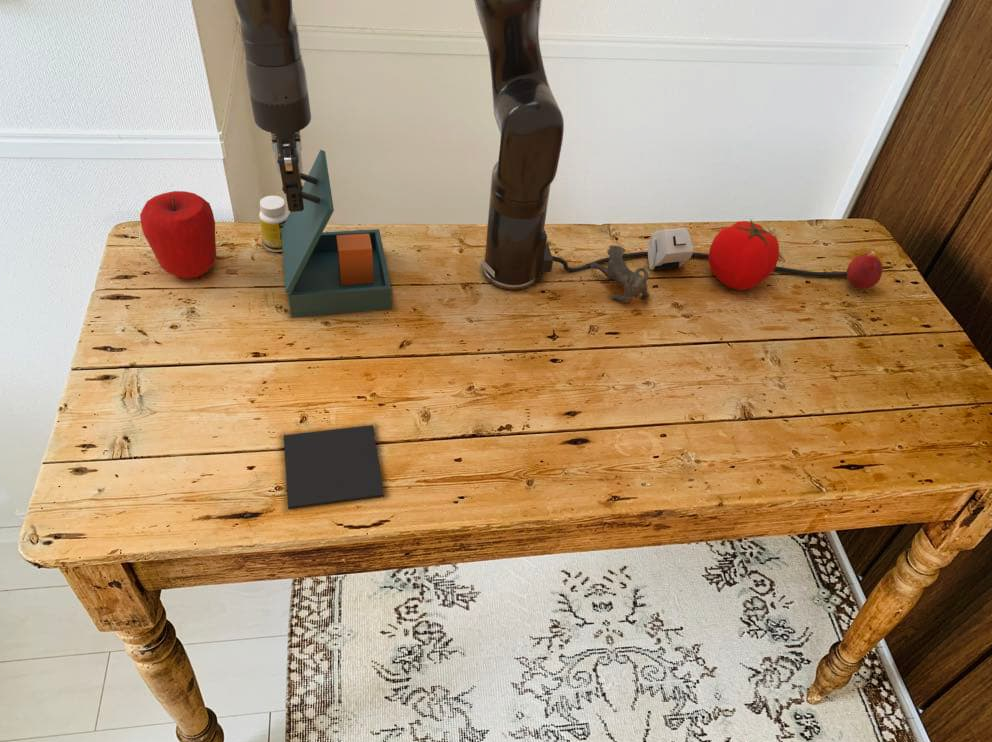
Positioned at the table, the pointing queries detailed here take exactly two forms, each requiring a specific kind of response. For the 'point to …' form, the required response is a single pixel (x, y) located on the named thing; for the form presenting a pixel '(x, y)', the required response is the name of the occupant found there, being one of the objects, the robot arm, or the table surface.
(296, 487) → the mat
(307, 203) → the lunchbox lid
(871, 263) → the onion
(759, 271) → the tomato
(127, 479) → the table surface
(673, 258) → the light grey block
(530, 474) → the table surface
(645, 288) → the dog figurine
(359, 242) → the block
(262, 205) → the supplement bottle
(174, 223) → the apple
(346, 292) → the box
